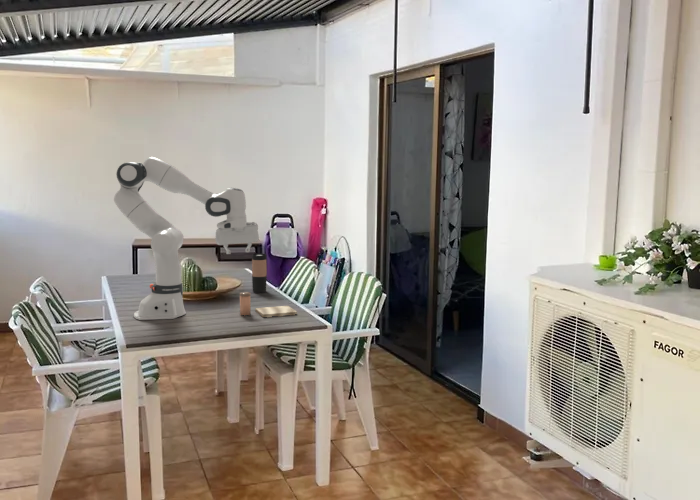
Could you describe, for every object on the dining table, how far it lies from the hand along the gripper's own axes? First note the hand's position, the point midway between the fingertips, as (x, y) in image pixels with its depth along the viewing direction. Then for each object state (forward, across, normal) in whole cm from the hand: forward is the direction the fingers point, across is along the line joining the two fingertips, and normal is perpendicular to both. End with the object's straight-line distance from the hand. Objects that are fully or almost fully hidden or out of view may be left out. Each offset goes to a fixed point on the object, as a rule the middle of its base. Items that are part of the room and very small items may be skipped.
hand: (238, 253), depth 301 cm
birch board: (+28, -13, +12) cm, 33 cm away
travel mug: (+28, -26, -36) cm, 52 cm away
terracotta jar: (+28, +1, +8) cm, 29 cm away
